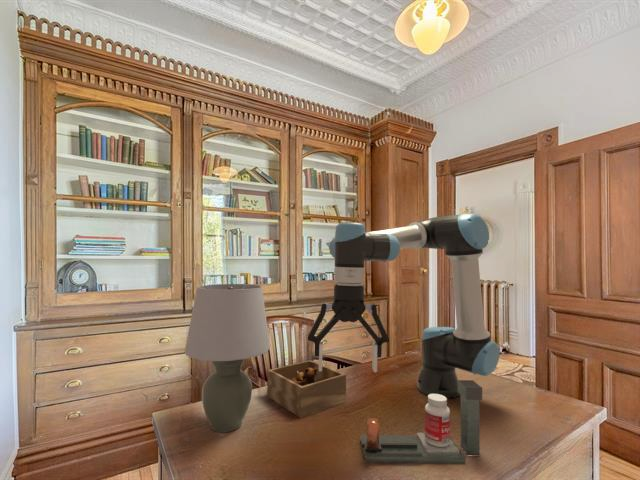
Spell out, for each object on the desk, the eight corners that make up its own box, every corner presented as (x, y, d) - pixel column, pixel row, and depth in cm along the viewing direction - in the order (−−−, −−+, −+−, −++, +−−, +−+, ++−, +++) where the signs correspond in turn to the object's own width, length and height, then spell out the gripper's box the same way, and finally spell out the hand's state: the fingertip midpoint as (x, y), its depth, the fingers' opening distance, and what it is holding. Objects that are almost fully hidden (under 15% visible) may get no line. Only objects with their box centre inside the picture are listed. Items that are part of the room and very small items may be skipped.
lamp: (282, 431, 94) (285, 288, 96) (194, 459, 80) (199, 292, 82) (248, 400, 113) (252, 282, 115) (173, 418, 100) (178, 284, 102)
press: (363, 463, 80) (364, 390, 81) (358, 440, 90) (359, 376, 90) (488, 464, 80) (487, 392, 81) (469, 441, 90) (469, 377, 91)
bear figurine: (315, 389, 124) (316, 356, 124) (327, 407, 109) (328, 369, 110) (279, 393, 120) (280, 358, 121) (286, 412, 106) (287, 373, 106)
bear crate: (267, 396, 117) (267, 370, 117) (309, 383, 129) (310, 360, 129) (300, 418, 101) (301, 388, 102) (345, 401, 113) (346, 374, 114)
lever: (365, 453, 81) (365, 423, 81) (363, 446, 84) (364, 417, 84) (382, 453, 81) (382, 424, 81) (379, 446, 84) (379, 418, 84)
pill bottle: (444, 451, 81) (444, 404, 82) (420, 441, 85) (420, 397, 85) (453, 440, 86) (453, 396, 86) (430, 432, 90) (430, 390, 90)
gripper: (299, 284, 80) (296, 374, 79) (402, 286, 81) (401, 376, 79) (300, 281, 88) (298, 364, 87) (394, 284, 88) (393, 365, 87)
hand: (347, 370), depth 83 cm, fingers open, 13 cm apart
